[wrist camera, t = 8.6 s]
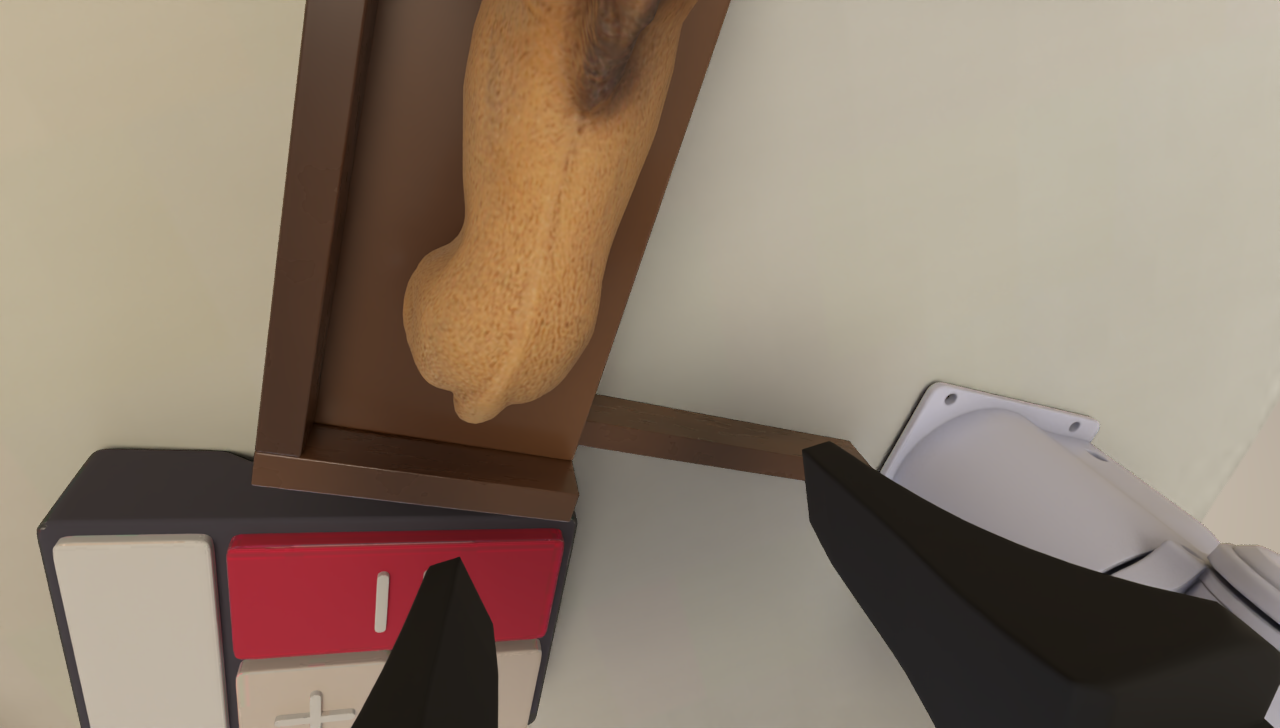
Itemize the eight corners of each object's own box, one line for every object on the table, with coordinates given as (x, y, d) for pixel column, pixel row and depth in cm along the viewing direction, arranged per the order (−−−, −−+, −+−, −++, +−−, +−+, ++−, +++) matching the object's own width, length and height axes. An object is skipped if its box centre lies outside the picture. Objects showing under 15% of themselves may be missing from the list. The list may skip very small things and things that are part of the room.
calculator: (537, 745, 27) (79, 801, 22) (525, 654, 30) (130, 686, 25) (585, 531, 22) (14, 542, 17) (563, 454, 26) (88, 446, 21)
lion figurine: (375, -406, 11) (117, -1441, 3) (690, -321, 12) (1071, -896, 4) (407, 387, 17) (352, 697, 10) (608, 388, 19) (702, 661, 11)
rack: (1147, -114, 20) (1382, -154, 15) (838, 460, 28) (921, 563, 23) (436, -562, 13) (410, -929, 8) (304, 368, 21) (250, 485, 16)
